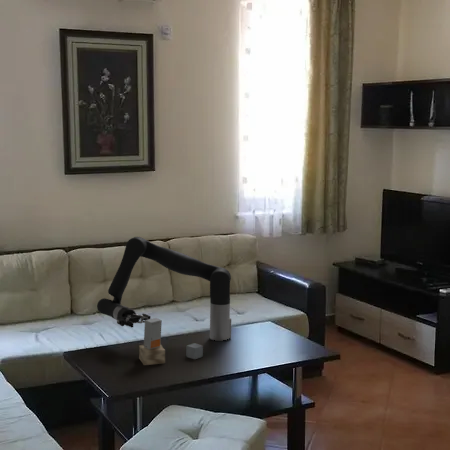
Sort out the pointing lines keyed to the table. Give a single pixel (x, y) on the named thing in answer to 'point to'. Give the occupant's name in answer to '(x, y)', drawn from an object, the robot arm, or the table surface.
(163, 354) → the beech block
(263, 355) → the table surface
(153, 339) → the skincare box
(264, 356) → the table surface
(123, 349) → the table surface
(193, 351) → the slate block
